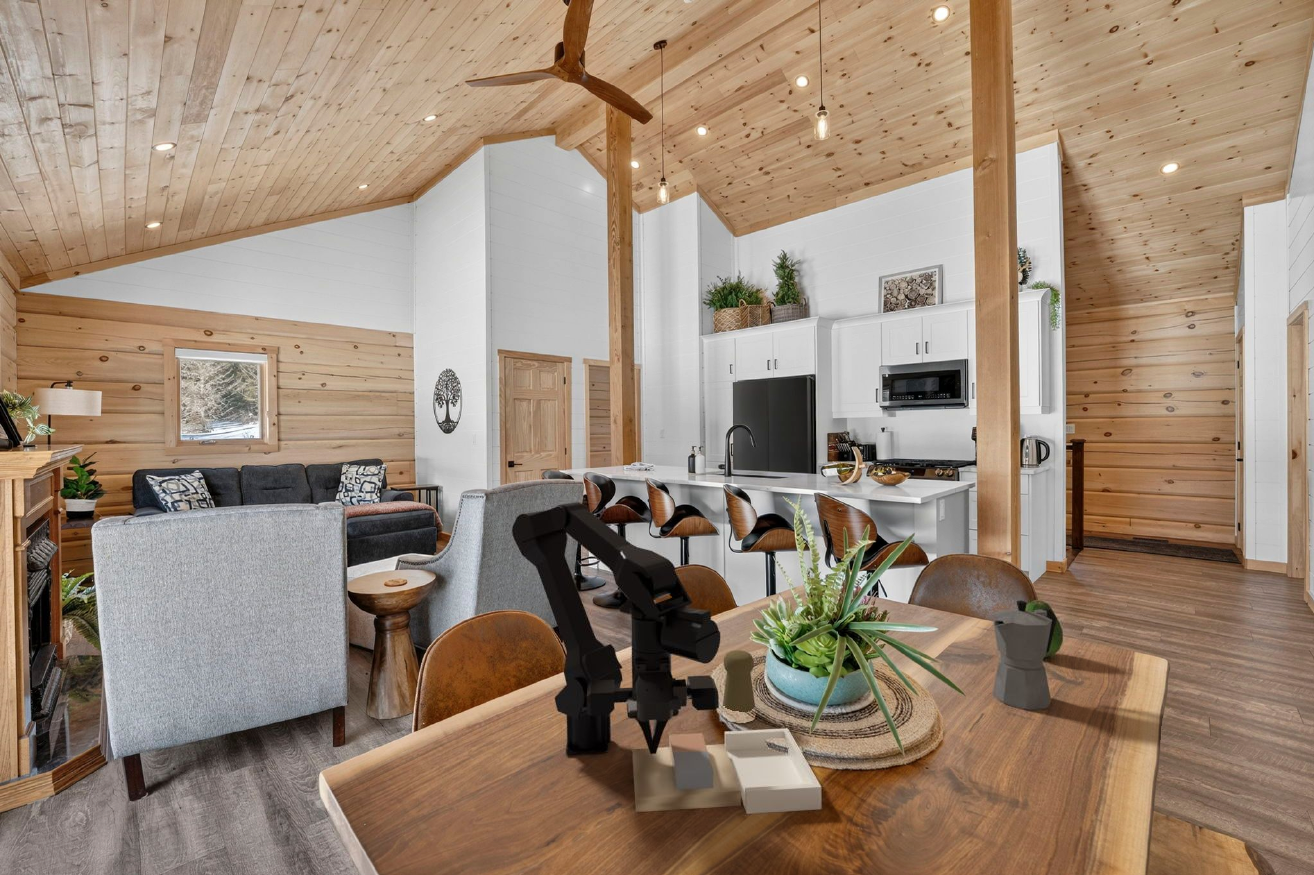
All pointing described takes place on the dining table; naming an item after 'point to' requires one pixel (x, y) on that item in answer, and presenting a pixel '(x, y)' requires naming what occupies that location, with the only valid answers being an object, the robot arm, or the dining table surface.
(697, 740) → the tile terracotta
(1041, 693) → the coffeepot
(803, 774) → the tray
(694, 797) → the board
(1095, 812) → the dining table surface
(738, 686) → the cork
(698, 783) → the grey-blue rounded block
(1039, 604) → the avocado
